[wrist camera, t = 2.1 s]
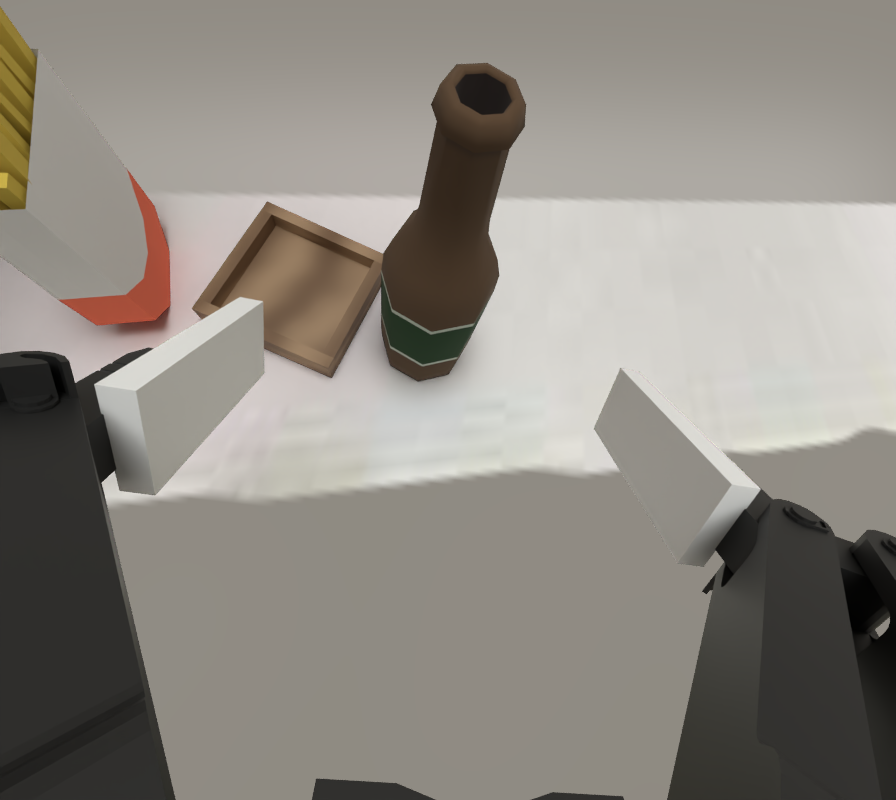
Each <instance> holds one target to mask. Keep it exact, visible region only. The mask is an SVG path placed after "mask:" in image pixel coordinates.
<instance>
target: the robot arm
mask: <svg viewBox="0 0 896 800" xmlns="http://www.w3.org/2000/svg"><path fill="white" fill-rule="evenodd" d="M263 374H264V322H263V301H259V300H253V299H248V298H243V297H239V298H237V299H236V300H234V301H232V302H231V303H229V304H227V305H226V306H224V307H222V308H221V309H219V310H217V311H216V312H214V313H212V314H211V315H209V316H207V317H206V318H204V319H202V320H201V321H199V322H197V323H196V324H194V325H192V326H191V327H189V328H187V329H186V330H184V331H182V332H181V333H179V334H177V335H176V336H174V337H172V338H171V339H169V340H167V341H166V342H164V343H162V344H161V345H159V346H157V347H156V348H154V349H153V348H146V349H142V350H139V351H135V352H131V353H128V354H126V355H124V356H123V357H121V358H119V359H117V360H115V361H114V362H113V364H108V365H107V366H105V367H103V368H101V370H100V371H96V372H94V373H92V374H91V375H89V376H87V377H85V378H84V379H82V380H80V381H78V382H77V383H75V381H74V378H73V374H72V370H71V366H70V363H69V361H68V359H67V358H66V357H65V356H62V355H59V354H56V353H51V352H43V351H20V352H12V353H5V354H0V800H176V799H175V795H174V791H173V787H172V783H171V778H170V774H169V770H168V766H167V762H166V757H165V753H164V748H163V744H162V740H161V736H160V732H159V727H158V723H157V718H156V714H155V710H154V705H153V701H152V697H151V693H150V688H149V684H148V680H147V675H146V671H145V667H144V662H143V658H142V654H141V650H140V646H139V641H138V637H137V632H136V628H135V624H134V620H133V615H132V611H131V607H130V602H129V598H128V594H127V590H126V586H125V581H124V577H123V572H122V568H121V564H120V559H119V555H118V551H117V547H116V542H115V538H114V534H113V529H112V525H111V521H110V517H109V512H108V508H107V504H106V499H105V495H104V491H103V487H102V484H101V482H103V481H104V480H105V479H106V478H107V477H108V476H109V475H110V474H111V473H113V472H114V471H115V474H116V478H117V482H118V486H119V490H120V491H126V492H133V493H141V494H149V495H156V494H157V493H158V492H159V491H160V489H161V488H162V487H163V486H164V485H165V484H166V483H167V482H168V481H169V479H170V478H171V477H172V476H173V475H174V474H175V473H176V472H177V470H178V469H179V468H180V467H181V466H182V465H183V464H184V463H185V461H186V460H187V459H188V458H189V457H190V456H191V455H192V454H193V453H194V451H195V450H196V449H197V448H198V447H199V446H200V445H201V444H202V442H203V441H204V440H205V439H206V438H207V437H208V436H209V435H210V433H211V432H212V431H213V430H214V429H215V428H216V427H217V426H218V425H219V423H220V422H221V421H222V420H223V419H224V418H225V417H226V416H227V414H228V413H229V412H230V411H231V410H232V409H233V408H234V407H235V405H236V404H237V403H238V402H239V401H240V400H241V399H242V398H243V397H244V395H245V394H246V393H247V392H248V391H249V390H250V389H251V388H252V386H253V385H254V384H255V383H256V382H257V381H258V380H259V379H260V377H261V376H262V375H263ZM594 429H595V431H596V433H597V434H598V436H599V437H600V439H601V441H602V442H603V444H604V446H605V447H606V449H607V450H608V452H609V454H610V455H611V457H612V458H613V460H614V462H615V463H616V465H617V467H618V468H619V470H620V471H621V473H622V475H623V476H624V478H625V479H626V481H627V483H628V484H629V486H630V488H631V489H632V491H633V492H634V494H635V496H636V497H637V499H638V500H639V502H640V504H641V505H642V507H643V508H644V510H645V512H646V513H647V515H648V516H649V518H650V520H651V521H652V523H653V525H654V526H655V528H656V529H657V531H658V533H659V534H660V536H661V538H662V539H663V541H664V542H665V544H666V546H667V547H668V549H669V550H670V552H671V554H672V555H673V557H674V559H675V560H676V562H677V563H678V564H686V565H694V566H702V567H704V565H705V564H706V562H707V561H708V560H709V559H710V557H711V556H712V555H713V553H714V552H715V551H717V552H718V554H719V555H720V556H721V557H722V559H723V560H724V563H723V565H722V566H721V567H720V569H719V570H718V571H717V573H716V574H715V575H714V576H713V578H712V579H711V580H710V582H709V583H708V584H707V586H706V587H705V588H704V590H703V591H702V592H704V593H705V594H707V593H708V592H709V591H710V590H713V591H712V596H711V600H710V605H709V610H708V614H707V619H706V623H705V628H704V632H703V637H702V642H701V646H700V651H699V656H698V660H697V665H696V669H695V674H694V679H693V683H692V688H691V692H690V698H689V702H688V706H687V711H686V715H685V720H684V725H683V729H682V734H681V738H680V743H679V748H678V752H677V757H676V762H675V766H674V771H673V775H672V780H671V784H670V789H669V794H668V798H667V800H896V538H895V537H893V536H891V535H889V534H886V533H883V532H879V531H876V530H867V531H866V532H865V533H864V534H863V535H862V536H861V537H860V538H859V539H858V540H857V541H856V542H855V543H853V542H850V541H847V540H844V539H841V538H838V537H835V535H834V533H833V531H832V529H831V527H830V526H829V525H828V524H827V523H826V522H824V521H823V520H822V519H821V518H819V517H818V516H817V515H815V514H814V513H812V512H811V511H809V510H808V509H806V508H804V507H802V506H800V505H797V504H795V503H792V502H790V501H786V500H781V499H774V500H773V499H771V498H770V497H769V496H768V495H767V494H766V493H765V492H764V491H763V490H762V489H761V488H760V487H759V486H758V485H757V484H756V483H755V482H754V481H753V480H752V479H751V478H750V477H749V476H748V475H747V474H745V473H744V472H743V471H742V470H741V469H740V468H739V467H738V466H737V465H736V464H735V463H734V462H733V461H732V460H731V459H730V458H729V457H728V456H727V455H726V454H725V453H724V452H723V451H721V450H720V449H719V448H718V447H717V446H716V445H715V444H714V443H713V442H712V441H711V440H710V439H709V438H708V437H707V436H706V435H705V434H704V433H702V432H701V431H700V430H699V429H698V428H697V427H696V426H695V425H694V424H693V423H692V422H691V421H690V420H689V419H688V418H687V417H686V416H685V415H684V414H683V413H682V412H681V411H680V410H679V409H678V408H677V407H676V406H675V405H673V404H672V403H671V402H670V401H669V400H668V399H667V398H666V397H665V396H664V395H663V394H662V393H661V392H660V391H659V390H658V389H657V388H656V387H655V386H654V385H653V384H652V383H651V382H650V381H649V380H648V379H647V378H645V377H644V376H643V375H642V374H641V373H640V372H639V371H634V370H628V369H623V368H620V371H619V373H618V375H617V377H616V380H615V382H614V384H613V386H612V389H611V391H610V393H609V395H608V398H607V400H606V402H605V404H604V407H603V409H602V411H601V413H600V416H599V418H598V420H597V422H596V425H595V427H594ZM889 617H890V624H889V627H888V629H887V630H886V632H885V633H884V634H883V635H881V636H880V637H879V636H878V634H877V632H876V631H875V629H876V628H877V627H878V626H879V625H881V624H882V623H883V622H884V621H885V620H886V619H888V618H889ZM312 800H435V799H432V798H430V797H428V796H425V795H423V794H421V793H418V792H416V791H413V790H411V789H409V788H406V787H404V786H402V785H399V784H397V783H381V782H365V781H363V782H362V781H348V780H330V779H316V783H315V788H314V792H313V797H312ZM532 800H624V798H623V797H622V796H605V795H588V794H571V793H554V792H553V793H550V794H547V795H544V796H541V797H538V798H535V799H532Z"/></svg>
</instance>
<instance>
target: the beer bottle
mask: <svg viewBox="0 0 896 800" xmlns="http://www.w3.org/2000/svg"><path fill="white" fill-rule="evenodd" d="M431 105H432V108H433V111H434V114H435V117H436V120H437V123H436V128H435V133H434V138H433V143H432V147H431V152H430V157H429V162H428V167H427V172H426V176H425V181H424V185H423V190H422V195H421V200H420V205H419V208H418V209H417V210H415V211H413V213H412V214H411V215H410V217H409V218H408V219H407V221H406V222H405V223H404V225H403V226H402V227H401V229H400V230H399V231H398V233H397V234H396V236H395V237H394V238H393V240H392V241H391V243H390V244H389V246H388V247H387V249H386V250H385V252H384V253H383V260H382V268H381V328H382V336H383V340H384V343H385V347H386V351H387V355H388V358H389V362H390V365H391V366H393V367H395V368H396V369H398V370H400V371H402V372H403V373H405V374H407V375H408V376H410V377H412V378H414V379H415V380H417V381H420V380H425V379H429V378H434V377H438V376H443V375H447V374H449V373H450V371H451V370H452V368H453V367H454V365H455V363H456V361H457V360H458V358H459V356H460V355H461V353H462V351H463V350H464V348H465V346H466V345H467V343H468V341H469V339H470V337H471V335H472V333H473V331H474V329H475V327H476V325H477V323H478V321H479V319H480V317H481V315H482V313H483V311H484V309H485V307H486V305H487V303H488V301H489V299H490V297H491V295H492V293H493V291H494V289H495V286H496V283H497V280H498V277H499V269H498V260H497V257H496V254H495V251H494V248H493V245H492V242H491V240H490V237H489V234H488V232H489V222H490V217H491V214H492V210H493V207H494V203H495V199H496V196H497V192H498V188H499V185H500V181H501V177H502V174H503V170H504V167H505V163H506V160H507V156H508V152H509V149H510V147H511V146H512V144H513V143H514V142H515V140H516V139H517V137H518V136H519V134H520V133H521V131H522V130H523V128H524V127H525V113H526V104H525V101H524V99H523V96H522V94H521V92H520V89H519V86H518V84H517V82H516V79H514V78H512V77H511V76H509V75H507V74H505V73H504V72H502V71H500V70H498V69H497V68H495V67H493V66H492V65H490V64H488V63H478V64H457V65H456V66H455V67H454V68H453V69H452V70H451V72H450V73H449V74H448V75H447V77H446V78H445V79H444V80H443V81H442V83H441V84H440V86H439V88H438V90H437V93H436V95H435V97H434V99H433V102H432V104H431Z"/></svg>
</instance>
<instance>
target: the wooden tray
mask: <svg viewBox="0 0 896 800" xmlns="http://www.w3.org/2000/svg"><path fill="white" fill-rule="evenodd" d="M382 260H383V254H382V253H380V252H377V251H375V250H373V249H371V248H369V247H366V246H364V245H362V244H360V243H358V242H355V241H353V240H351V239H349V238H347V237H344V236H342V235H340V234H338V233H335V232H333V231H331V230H329V229H327V228H324V227H322V226H320V225H318V224H316V223H313V222H311V221H309V220H307V219H305V218H302V217H300V216H298V215H296V214H294V213H291V212H289V211H287V210H285V209H282V208H280V207H278V206H276V205H274V204H271V203H269V202H267V203H266V204H265V205H264V207H263V208H262V210H261V211H260V212H259V214H258V215H257V217H256V218H255V220H254V221H253V222H252V224H251V225H250V227H249V228H248V229H247V231H246V232H245V234H244V235H243V237H242V238H241V239H240V241H239V242H238V244H237V245H236V247H235V248H234V249H233V251H232V252H231V254H230V255H229V256H228V258H227V259H226V261H225V262H224V264H223V265H222V266H221V268H220V269H219V271H218V272H217V273H216V275H215V276H214V278H213V279H212V281H211V282H210V283H209V285H208V286H207V288H206V289H205V290H204V292H203V293H202V295H201V296H200V298H199V299H198V300H197V302H196V303H195V305H194V306H193V307H192V309H193V310H194V311H195V312H196V313H197V315H198V316H199V317H200V318H201V319H204V318H206V317H207V316H209V315H211V314H212V313H214V312H216V311H217V310H219V309H221V308H222V307H224V306H226V305H227V304H229V303H231V302H232V301H234V300H236V299H237V298H239V297H243V298H248V299H253V300H259V301H263V322H264V348H265V349H267V350H269V351H271V352H274V353H276V354H278V355H281V356H283V357H285V358H287V359H290V360H292V361H294V362H297V363H299V364H301V365H303V366H306V367H308V368H310V369H312V370H315V371H317V372H319V373H322V374H324V375H326V376H328V377H331V378H332V377H333V375H334V373H335V371H336V369H337V367H338V365H339V364H340V362H341V360H342V358H343V356H344V354H345V352H346V351H347V349H348V347H349V345H350V343H351V341H352V339H353V338H354V336H355V334H356V332H357V330H358V328H359V326H360V325H361V323H362V321H363V319H364V317H365V315H366V313H367V312H368V310H369V308H370V306H371V304H372V302H373V300H374V299H375V297H376V295H377V293H378V291H379V289H380V287H381V268H382Z"/></svg>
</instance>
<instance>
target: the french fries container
mask: <svg viewBox="0 0 896 800" xmlns="http://www.w3.org/2000/svg"><path fill="white" fill-rule="evenodd" d="M0 256H1V257H2V258H4V259H5V260H6V261H8V262H9V263H10V264H12V265H13V266H14V267H16V268H17V269H18V270H20V271H21V272H22V273H23V274H25V275H26V276H27V277H29V278H30V279H31V280H33V281H34V282H35V283H37V284H38V285H39V286H41V287H42V288H43V289H45V290H46V291H47V292H49V293H50V294H51V295H53V296H54V297H55V298H56V299H58V300H59V301H61V302H62V303H64V304H65V305H67V306H68V307H70V308H71V309H73V310H74V311H76V312H77V313H79V314H80V315H82V316H83V317H85V318H87V319H88V320H90V321H91V322H93V323H94V324H96V325H107V324H119V323H130V322H141V321H153V320H156V319H157V318H158V317H159V316H160V315H161V314H162V313H163V312H164V311H165V310H166V309H167V308H168V307H169V306H170V263H169V249H168V246H167V243H166V240H165V237H164V234H163V231H162V228H161V225H160V222H159V219H158V216H157V212H156V209H155V206H154V205H153V204H152V202H151V201H150V199H149V198H148V197H147V195H146V194H145V193H144V191H143V190H142V189H141V187H140V186H139V185H138V184H137V182H136V181H135V179H134V178H133V177H132V175H131V174H130V172H129V171H128V170H127V168H126V167H125V166H124V164H123V163H122V162H121V160H120V159H119V158H118V156H117V155H116V154H115V152H114V151H113V150H112V148H111V147H110V145H109V144H108V143H107V141H106V140H105V139H104V137H103V136H102V135H101V134H100V132H99V131H98V129H97V128H96V127H95V125H94V124H93V122H92V121H91V120H90V118H89V117H88V116H87V114H86V113H85V112H84V110H83V109H82V108H81V106H80V105H79V104H78V102H77V101H76V100H75V98H74V97H73V95H72V94H71V93H70V91H69V90H68V89H67V87H66V86H65V85H64V83H63V82H62V81H61V79H60V78H59V77H58V75H57V74H56V73H55V71H54V70H53V68H52V67H51V66H50V64H49V63H48V62H47V60H46V59H45V58H44V56H43V55H42V54H41V52H40V51H39V50H38V49H30V48H29V46H28V45H27V44H26V42H25V41H24V39H23V38H22V37H21V35H20V34H19V32H18V31H17V29H16V28H15V27H14V25H13V24H12V22H11V21H10V20H9V18H8V17H7V16H6V14H5V13H4V11H3V10H2V8H1V7H0Z"/></svg>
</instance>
